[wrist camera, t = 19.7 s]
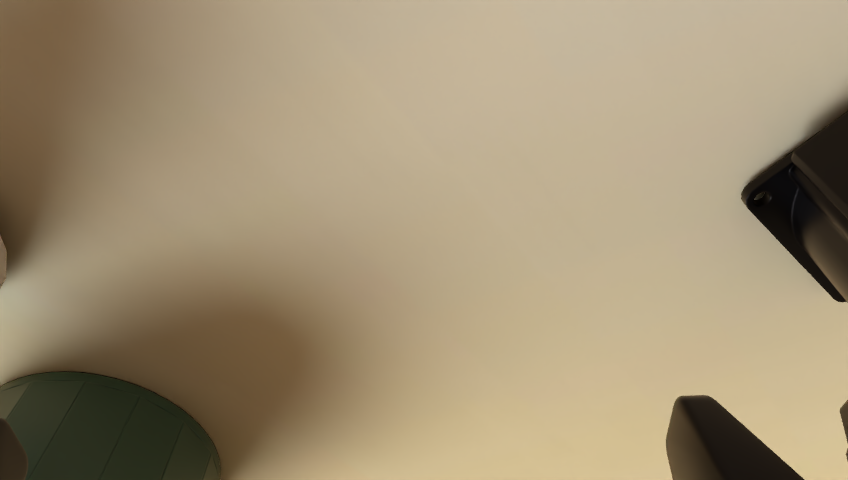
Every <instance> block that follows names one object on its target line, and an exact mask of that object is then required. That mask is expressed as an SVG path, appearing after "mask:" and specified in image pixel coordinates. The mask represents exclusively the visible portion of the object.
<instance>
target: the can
mask: <svg viewBox="0 0 848 480" xmlns="http://www.w3.org/2000/svg"><path fill="white" fill-rule="evenodd" d="M6 263H7V251H6V248H5V246H4V243H3V240H2V238H1V235H0V288H1V286H2V284H3V283H4V281H5V279H6Z"/></svg>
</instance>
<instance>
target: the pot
mask: <svg viewBox="0 0 848 480" xmlns="http://www.w3.org/2000/svg"><path fill="white" fill-rule="evenodd" d="M0 417H1V418H3V419H5V420H6V421H7V422H8V423H9V425H10V426H11V428H12V430H13V431H14V433H15V435H16V437H17V438H18V440H19V442H20V443H21V445H22V447H23V448H24V450H25V452H26V454H27V457H28V471H27V475H26V478H25V480H220V471H221V467H220V461H219V457H218V454H217V451H216V448H215V446H214V445H213V443H212V441H211V439H210V438H209V436H208V435H207V434H206V432H205V431H204V430H203V429H202V427H201V426H200V425H199V424H198V423H197V422H196V421H195V420H194V419H193V418H192V417H190V416H189V415H188V414H187V413H185V412H184V411H183V410H182V409H180V408H179V407H177V406H176V405H174V404H173V403H171V402H170V401H168V400H167V399H165V398H163V397H161V396H159V395H157V394H155V393H153V392H151V391H149V390H146V389H144V388H142V387H139V386H137V385H134V384H131V383H128V382H125V381H122V380H118V379H114V378H110V377H106V376H101V375H95V374H88V373H78V372H49V373H41V374H35V375H30V376H26V377H22V378H19V379H16V380H14V381H11V382H9V383H6V384H4V385H3V386H1V387H0Z"/></svg>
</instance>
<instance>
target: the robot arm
mask: <svg viewBox="0 0 848 480" xmlns="http://www.w3.org/2000/svg"><path fill="white" fill-rule="evenodd" d="M762 192H765V194H764V195H763V197H762V198H760V199H757V200H754V198H755V197H756V196H757V195H758V194H760V193H762ZM741 199H742V201H743V203H744V204H745V205H746V207H747V208H748V209H749V210H750V211H751V212H752V213H753V214H754V215H755V216H756V218H757V219H758V220H759V221H760V222H761V223H762V224H763V225H764V226H765V227H766V228H767V229H768V230H769V231H770V232H771V233H772V234H773V235H774V237H775V238H776V239H777V240H778V241H779V242H780V243H781V244H782V245H783V246H784V247H785V248H786V249H787V250H788V251H789V252H790V253H791V254H792V255H793V257H794V258H795V259H796V260H797V261H798V262H799V263H800V264H801V265H802V266H803V267H804V268H805V269H806V270H807V271H808V272H809V273H810V274H811V275H812V277H813V278H814V279H815V280H816V281H817V282H818V283H819V284H820V285H821V286H822V287H823V288H824V289H825V290H826V291H827V292H828V293H829V294H830V295H831V297H832V298H833V299H834V300H836V301H838V302H848V112H846V113H845V114H844V115H842V116H841V117H839V118H838V119H837V120H835V121H834V122H833V123H831V124H830V125H828V126H827V127H826V128H824V129H823V130H822V131H820V132H819V133H817V134H816V135H815V136H813V137H812V138H811V139H809V140H808V141H806V142H805V143H804V144H802V145H801V146H800V147H798V148H797V149H796V150H794V151H793V152H792V153H790V154H789V155H787V156H786V157H785V158H783V159H782V160H781V161H779V162H778V163H776V164H775V165H774V166H772V167H771V168H770V169H768V170H767V171H765V172H764V173H763V174H761V175H760V176H759V177H757V178H756V179H754V180H753V181H752V182H750V183H749V184H748V185H747V186H746V187H745V188H744V189H743V191H742V193H741ZM840 414H841V418H842V422H843V426H844V430H845V434H846V438H847V442H848V400H847V401H846V402H845V404H844V405H843V406H842V407H841V408H840ZM666 450H667V456H668V460H669V465H670V469H671V473H672V478H673V480H804V479H803V478H802V477H801V476H800V475H799V474H797V473H796V472H795V471H794V470H793V469H792V468H791V467H790V466H789V465H787V464H786V463H785V462H784V461H783V460H782V459H781V458H780V457H778V456H777V455H776V454H775V453H774V452H773V451H772V450H771V449H769V448H768V447H767V446H766V445H765V444H764V443H763V442H762V441H761V440H759V439H758V438H757V437H756V436H755V435H754V434H753V433H752V432H750V431H749V430H748V429H747V428H746V427H745V426H744V425H743V424H741V423H740V422H739V421H738V420H737V419H736V418H735V417H734V416H733V415H731V414H730V413H729V412H728V411H727V410H726V409H725V408H724V407H722V406H721V405H720V404H719V403H718V402H717V401H716V400H714V399H713V398H711V397H709V396H706V395H696V396H680V397H678V398H677V399H676V401H675V403H674V407H673V411H672V415H671V419H670V424H669V428H668V432H667V437H666ZM846 456H847V460H848V449H847V453H846ZM27 471H28V457H27V454H26V452H25V450H24V448H23V447H22V445H21V443H20V442H19V440H18V438H17V437H16V435H15V433H14V431H13V430H12V428H11V426H10V425H9V423H8V422H7V421H6V420H5V419H3V418H1V417H0V480H25V478H26V475H27Z"/></svg>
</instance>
